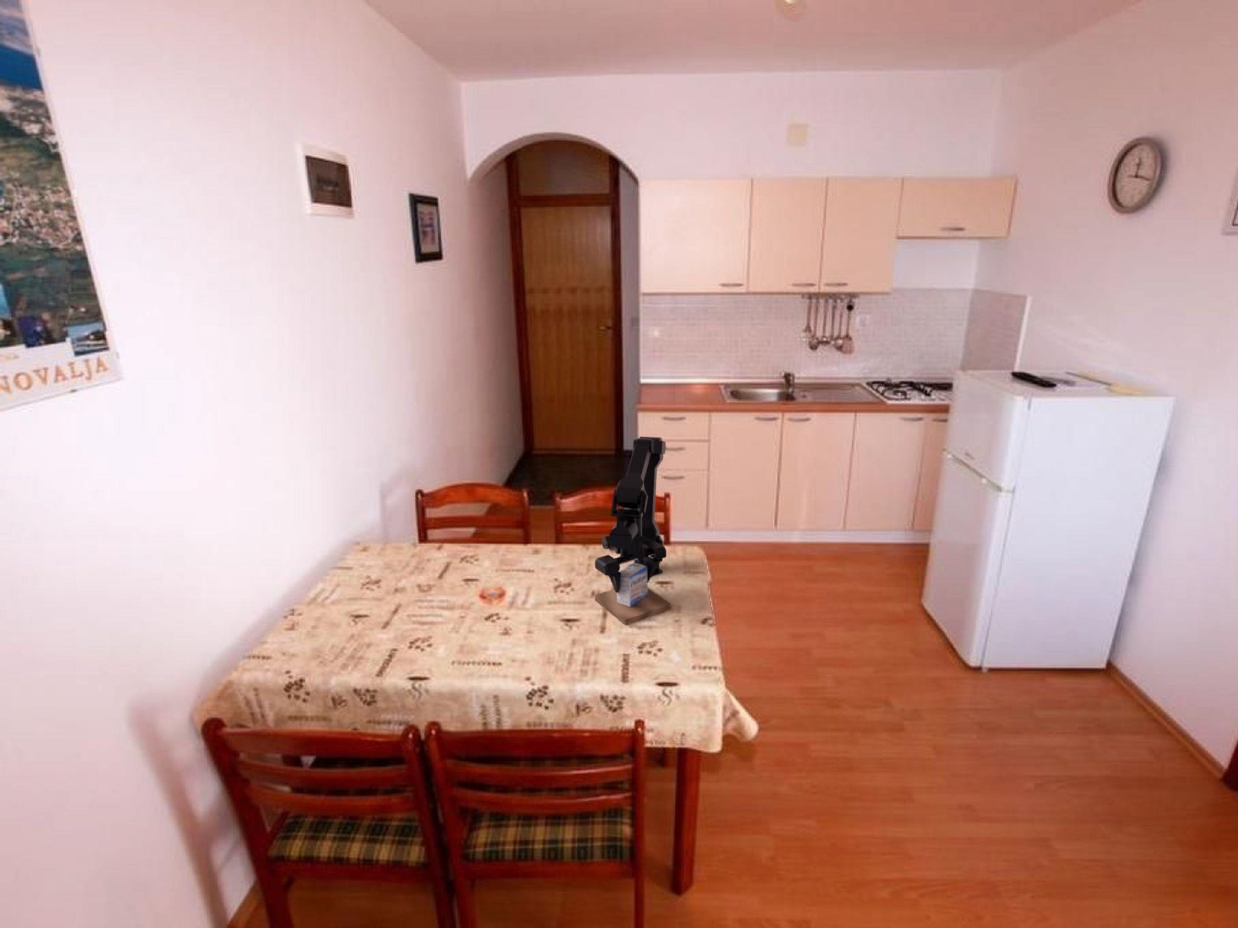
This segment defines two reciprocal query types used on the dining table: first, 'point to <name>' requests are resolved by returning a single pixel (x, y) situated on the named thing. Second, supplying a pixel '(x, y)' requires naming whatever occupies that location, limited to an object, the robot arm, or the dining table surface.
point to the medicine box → (632, 584)
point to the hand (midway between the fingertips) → (631, 587)
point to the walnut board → (637, 611)
